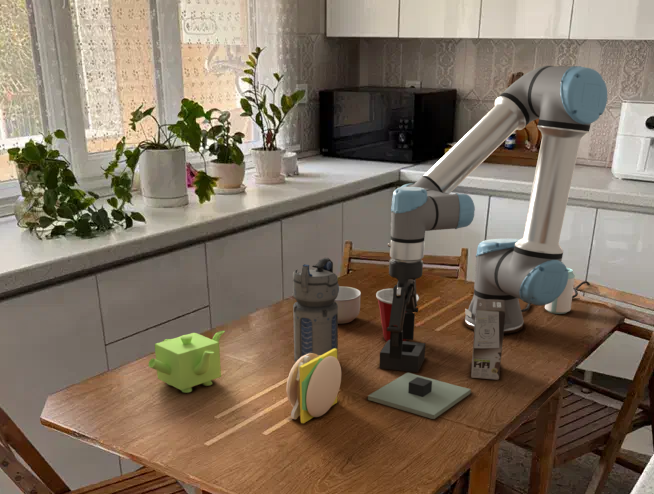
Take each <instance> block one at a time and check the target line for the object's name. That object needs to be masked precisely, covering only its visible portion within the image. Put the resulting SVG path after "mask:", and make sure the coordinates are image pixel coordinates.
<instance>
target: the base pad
mask: <svg viewBox="0 0 654 494" xmlns="http://www.w3.org/2000/svg"><path fill="white" fill-rule="evenodd" d="M471 393H472V389H471V388H468V387H464V386H460V385H456V384H453V383H448V382H445V381H442V380H437V379H434V378H430V377H427V376H422V375H420V374H415V373H413V372H409V371H406V372H405V373H404V374H402V375H400V376H398V377H397V378H396V379H393V380H392V381H391V382H388V383H386V384H385V385H383V386H381V387H380V388H378V389H376V390H375V391H373V392H371V393H370V394H368V395H367V400H368V401H371V402H374V403H377V404H381V405H384V406H387V407H390V408H395V409H397V410H400V411H404V412H407V413H411V414H414V415H417V416H421V417H424V418H428V419H430V420H435V419H436V418H438V417H439V416H441V415H442V414H444V413H445V412H446V411H448V410H450V408H452V407H453V406H455V405H456V404H458V403H459V402H461V401H462V400H463V399H465V398H466V397H467V396H469V395H471Z"/></svg>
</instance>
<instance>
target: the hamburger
mask: <svg viewBox="0 0 654 494" xmlns="http://www.w3.org/2000/svg"><path fill="white" fill-rule="evenodd" d="M341 382H342V367H341V364H340V362H339V359H338V360H337V349H335V348H334V349H332V350H330V351H328V352H326V353H324V354H322V355H317V354H314V353H309V354H306V355H304V356H302V357H301V358H299V359H298V360H297V361H296V362H295V363H294V364H293V365H292V367H291V369H290V371H289V373H288V377H287V380H286V388H285V389H286V390H285V391H286V397H287V401H288V403H289V404H290V406H291V407H292V410H291V412H290V419H292V420H297V419H298V418H299V416H300V424H305V423H306V422H309V421H310V420H312V419H313V418H319V417H322V416H324V415H325V414H326V413H328V411H329V410H330V409H331V407H333V406H334V405H335V404H337V403H338V394H339V391H340V387H341V384H342V383H341Z"/></svg>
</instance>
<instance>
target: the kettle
mask: <svg viewBox="0 0 654 494" xmlns="http://www.w3.org/2000/svg"><path fill="white" fill-rule="evenodd" d="M225 332H226V331H225V330H219V331H217V332H215V334H213V337H212V339H211V338H210V337H207V336H204V335H202V334H199V333H197V332H191V333H188V334H183V335H180V336H178V337H174V338H166V339H163V340H162V341H160V342H157V343H155V344H154V353H155V358H154V357H153V358H151V359H150V360H149V361H148V367H149V368H151V369H153V370H155V371H156V375H157V380H159V381H162V382H163V383H166V384H167V385H168V386H171V387H173V388H176V389H177V390H180V391H181V392H182V393H185V394H186V393H187V394H189V393H191V392H193V387H196V386H198V385H199V386H200V385H202V386H206V387H207V386H211V385H213V382H212V381H213V380H216V379H219V378H222V367H221V353H220V342H219V341H220V339H221V336H223V335H224V333H225Z"/></svg>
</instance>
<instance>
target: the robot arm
mask: <svg viewBox="0 0 654 494" xmlns="http://www.w3.org/2000/svg"><path fill="white" fill-rule="evenodd" d="M607 104H608V87H607V84H606V81H605V80H604V79H603V76H602V75H601V74H600V72H598V70H595V69H594V68H591V67H585V66H581V65H568V66H567V65H566V66H565V65H562V66H561V65H542V66H539V67H536V68H534V69H531V70H530V71H528V72H527V73H525V74H523V75H522V76H520V77H519V78H518V79H516V80H515V81H514V82H513V83H511V84H510V85H509V86H508V87H507V88H506V89H505V90H503V91H502V93H501V94H499V95H498V96H497V98H495V100H494V106H493V107H492V108H491V109H490V110H489V111H488V112H487V113H486V114H485V115H484V116H483V117H482V118H481V119H480V120H479V121H478V122H477V123H475V124H474V126H472V128H470V129H469V131H467V133H465V134H464V135H463V136H462V137H461V138H460V139H459V140H458V141H457V142H456V143H455V144H454V145H453V146H452V147H450V148H449V150H448V151H447V152H445V154H444V155H443V156H442V157H441V158H439V160H438V161H436V163H434V164H433V165H432V166H431V167H430V168H429V169H428V170H427V171H426V172H424V174H423V175H422V176H421V177H420V178H419V179H418V180H416V182H415V183H406V184H403V185H401V186H399V187H397V188H395V189H394V190H393V192H392V198H391V207H390V211H391V212H390V242H388V243H387V247H389V248H390V249H389V257H390V259H389V260H388V261H389V262H388V276H390V277H391V278H393V279H396V280H397V283H396V284H395V285H394V286H393V287H392V289H393V301H392V308H391V315H390V322H389V327H387V331H391V332H390V354H389V358H394V359H402V343H403V339H407V341H408V340H409V341H413V340H414V337H415V336H414V335H415V317H416V313H419V307H417V306H418V302H417V297H416V294H417V280H418V279H420V278H421V277H423V271H424V270H423V269H424V261H423V260H422V259H424V257H425V242H426V241H425V238H426V232H430V231H442V230H453V229H454V230H457V229H462V228H467V227H468V226H470V225H471V224H472V222H473V221H474V219H475V211H476V207H475V203H474V200H473V199H472V197H471V196H470V195H469V194H467V193H457V192H456V193H452V192H453V191H454V190H455V189H456V188H457V187H458V186H459V185H460V184H461V183H462V182H464V180H466V179H467V178H468V176H470V174H472V173H473V172H474V171H475V170H476V169H477V168H479V166H480V165H481V164H482V163H483V162H484V161H485V160H487V158H489V156H490V155H492V154H493V152H494V151H495V150H497V148H499V147H500V146H501V145H502V144H503V143H504V142H505V141H506V140H507V139H508V138H509V137H510V136H511V135H512V134H513V133H514V132H515V131H517V130H518V131H521V130H523V129H524V128H526V127H527V125H529V124H530V123H531V122H533V121H536V120H538V122H537V129H538V130H539V131H540V133H541V142H540V148H539V151H538V157H537V162H536V167H535V172H534V177H533V183H532V186H531V192H530V197H529V203H528V209H527V213H526V219H525V224H524V229H523V234H522V237H521V238H520V239H519V238H507V237H506V238H505V237H504V238H490V239H484V240H482V241H481V242H479V243H478V244H477V249H476V253H475V269H474V270H475V271H474V284H473V296H472V299H471V301H470V304H469V306H468V308H465V309H464V310H465V311H464V314H465V317H464V325H465V327H466V328H468V329H470V330H472V331H474V329H475V317H476V306H477V299H485V300H487V299H494V300H505V308H506V313H505V323H504V334H503V335H506V334H514V333H516V332H519V331H521V330H522V329H523V328H524V315H523V313H524V312H527V311H529V309H530V306H531V305H535V306H545V305H547V304H549V303H551V302H553V301H554V300H555V299H556V298H558V297H559V296H560V295H561V294H562V292H563V291H564V289H565V287H566V285H567V282H568V270H567V269H566V268H567V266H566V265H565V264H564V262H563V261H562V260H563V256H564V249H563V248H562V246H561V245H560V239H561V235H562V230H563V225H564V220H565V216H566V215H565V214H566V210H567V205H568V201H569V196H570V192H571V186H572V181H573V177H574V172H575V167H576V164H577V158H578V153H579V149H580V144H581V140H582V139H583V138H584V137H585V136H587V135H588V134H590V130H591V125H592V123H595V122H596V121H598V120H599V119H600V116H602V115H603V114H604V112H605V110H606V107H607ZM451 193H452V194H451ZM585 284H586V285H587V286H591V284H590V282H589V281H588V280H583V281H582V282H580V283H579V284H577V286H576V287H575V288H573V292H574V293H575V294H573V295H572V299H575V298H576V297H577V296H578V295H579V293H578V289H579V288H581V287H582V286H583V285H585ZM520 300H521V301H523V302H524V303H526V304H527V305H526V307H525V308H522V309H521V304H520ZM405 311H406V312H405ZM394 325H396V326H394ZM397 326H398V327H397Z"/></svg>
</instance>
